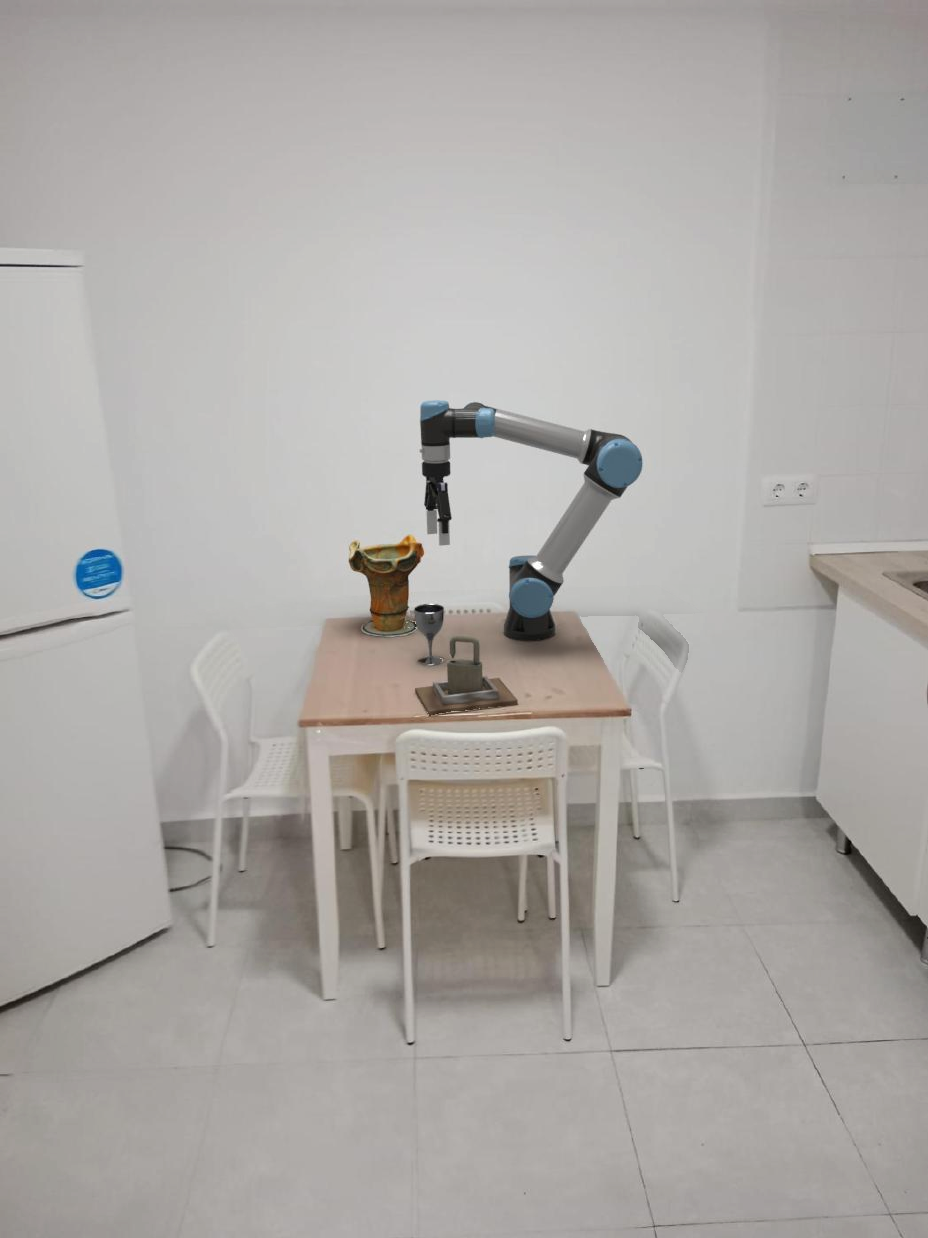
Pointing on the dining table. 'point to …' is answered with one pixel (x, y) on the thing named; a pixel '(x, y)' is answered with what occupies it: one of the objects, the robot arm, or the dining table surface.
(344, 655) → the dining table surface
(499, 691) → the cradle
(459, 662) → the padlock
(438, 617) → the wine glass
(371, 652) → the dining table surface
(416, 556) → the decorative vase
